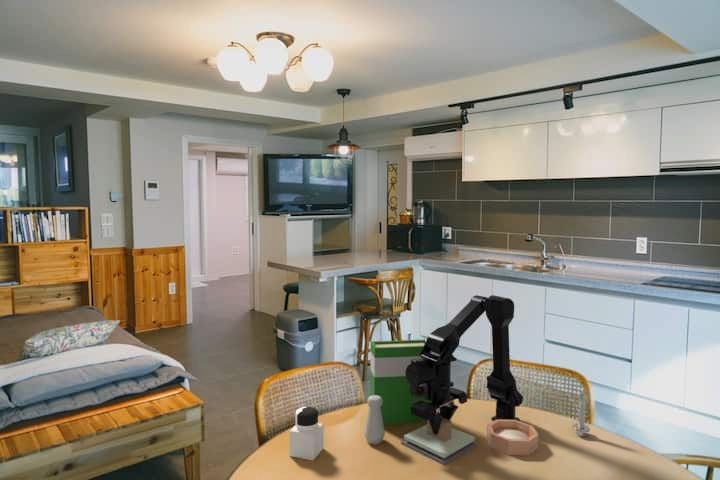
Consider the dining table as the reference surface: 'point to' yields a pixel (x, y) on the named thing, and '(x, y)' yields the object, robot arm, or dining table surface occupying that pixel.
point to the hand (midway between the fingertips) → (439, 432)
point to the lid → (440, 438)
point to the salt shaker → (374, 421)
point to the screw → (581, 418)
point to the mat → (436, 457)
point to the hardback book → (394, 379)
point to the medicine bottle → (306, 435)
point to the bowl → (512, 437)
